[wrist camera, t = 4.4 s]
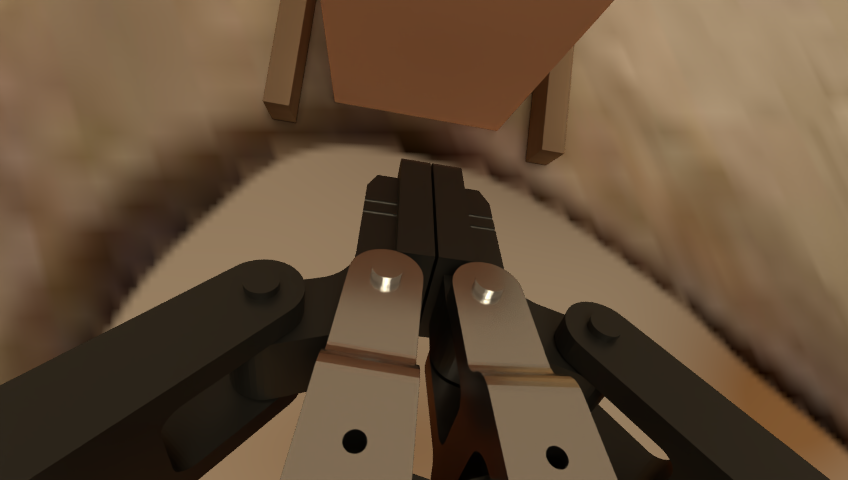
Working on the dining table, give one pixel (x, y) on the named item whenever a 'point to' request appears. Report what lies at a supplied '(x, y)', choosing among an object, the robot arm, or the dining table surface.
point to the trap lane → (290, 67)
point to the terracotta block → (449, 53)
